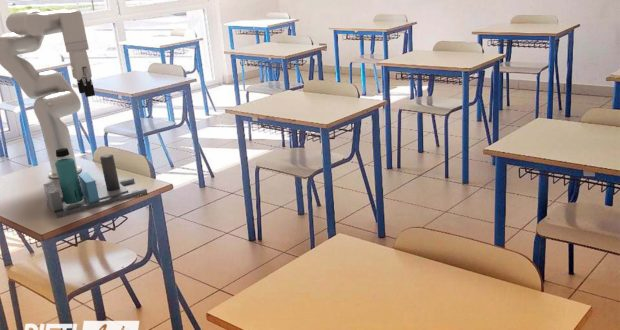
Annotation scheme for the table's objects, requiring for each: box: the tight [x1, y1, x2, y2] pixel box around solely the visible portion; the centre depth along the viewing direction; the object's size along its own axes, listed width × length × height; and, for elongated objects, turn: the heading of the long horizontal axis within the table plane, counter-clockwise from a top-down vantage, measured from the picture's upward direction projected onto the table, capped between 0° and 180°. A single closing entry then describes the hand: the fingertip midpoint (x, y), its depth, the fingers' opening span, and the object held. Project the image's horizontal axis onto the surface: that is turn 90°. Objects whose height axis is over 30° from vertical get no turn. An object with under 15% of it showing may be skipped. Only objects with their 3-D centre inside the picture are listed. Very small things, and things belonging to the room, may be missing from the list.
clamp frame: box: [43, 177, 148, 219], centre depth 219 cm, size 17×30×8 cm, turn 122°
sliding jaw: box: [77, 154, 130, 203], centre depth 219 cm, size 12×13×14 cm
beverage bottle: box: [55, 148, 84, 205], centre depth 213 cm, size 6×7×20 cm
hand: (87, 94), depth 227 cm, fingers open, 9 cm apart
